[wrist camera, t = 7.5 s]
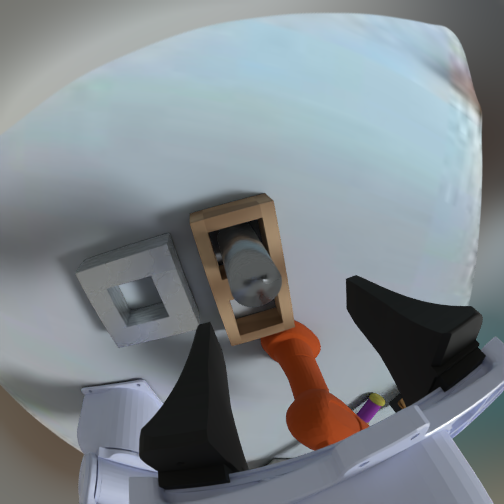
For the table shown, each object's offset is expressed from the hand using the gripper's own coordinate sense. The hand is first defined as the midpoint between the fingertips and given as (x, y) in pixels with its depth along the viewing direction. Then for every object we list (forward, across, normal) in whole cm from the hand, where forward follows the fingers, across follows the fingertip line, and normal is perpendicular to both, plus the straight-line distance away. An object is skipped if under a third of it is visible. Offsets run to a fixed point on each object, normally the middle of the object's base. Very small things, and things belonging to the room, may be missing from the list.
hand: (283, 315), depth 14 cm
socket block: (+10, +10, +2) cm, 14 cm away
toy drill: (+10, -4, +17) cm, 20 cm away
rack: (+10, +1, +3) cm, 11 cm away
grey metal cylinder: (+10, +1, 0) cm, 10 cm away
